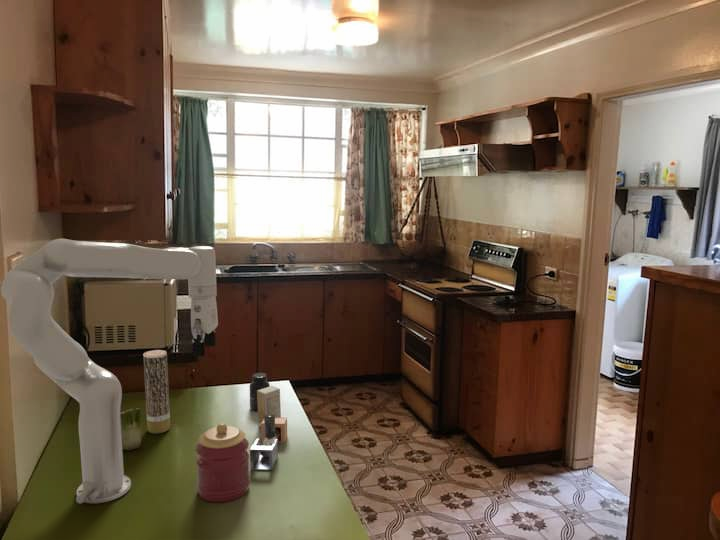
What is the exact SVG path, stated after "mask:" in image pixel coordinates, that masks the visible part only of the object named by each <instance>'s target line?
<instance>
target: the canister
mask: <svg viewBox="0 0 720 540" xmlns="http://www.w3.org/2000/svg"><path fill="white" fill-rule="evenodd" d="M248 448H249V441H248V440H247V438H246V434H245V432H244V431H243V430H242V429H239V428H237V427H235V426H233V425H227V424H225V423H223V422H221V423H218V425H217V426H214V427H211V428H209V429H207V430H206V431H205V432H203V433H202V434H200V436H199V437H198V443H197V445H196V446H195V452H196V454H197V458H196V461H195V462H196V467H197V468H196V470H197V473H196V474H197V482H196V487H197V488H196V489H197V492H198V495H199V497H200V498H202V499H203V500H205V501H207V502H212V503H213V502H214V503H224V502H230V501H233V500H236V499H238V498H241V497H242V496H244V495H245V494H246V493H247V492H248V491H249V489H250V488H249V487H250V480H251V478H250V475H249V474H250V472H249V471H250V469H249V466H250V464H249V463H250V461H249V460H250V453H248Z"/></svg>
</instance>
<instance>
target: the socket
mask: <svg viewBox="0 0 720 540" xmlns="http://www.w3.org/2000/svg"><path fill="white" fill-rule="evenodd" d="M275 427H276V428H278V429H279V431H280V435H279V437H278V440H277V443H278V444H279V443H280V444H284V443H286V441H287V438H288V417H281V418H278V417H275ZM260 429H261V430H260V431H261V443H263V441H264V439H265V422H264V419H263V421H262V423H261V427H260Z"/></svg>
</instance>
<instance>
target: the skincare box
mask: <svg viewBox="0 0 720 540" xmlns="http://www.w3.org/2000/svg"><path fill="white" fill-rule="evenodd" d="M257 402H258V412H257V420H258V421H257V424H258V427H259V428H261V423H262V421H263V419H264V416H265V415H267V414H274V415H275V417H278V418H282V416H281V415H282V413H281V409H282V408H281V389H280V388H279V387H276V386H274V385H270V386H269V387H266V388H263V389H260V390H257Z"/></svg>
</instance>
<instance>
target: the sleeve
mask: <svg viewBox="0 0 720 540" xmlns="http://www.w3.org/2000/svg"><path fill="white" fill-rule="evenodd" d="M278 444H279V443H277V439H274V442H273V444H272V446H261V445H260V438H256V439H255V440H254V442H253V444H251V446H250V449H249V463H250V464H249V466H250V469H249V471H257V470H274V468H275V465H276V463H275V462H277V459H278V458H277V457H278V455H279V453H278ZM260 452H269V457H264V456H262V455H261V454H260ZM273 467H274V468H273Z"/></svg>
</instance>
